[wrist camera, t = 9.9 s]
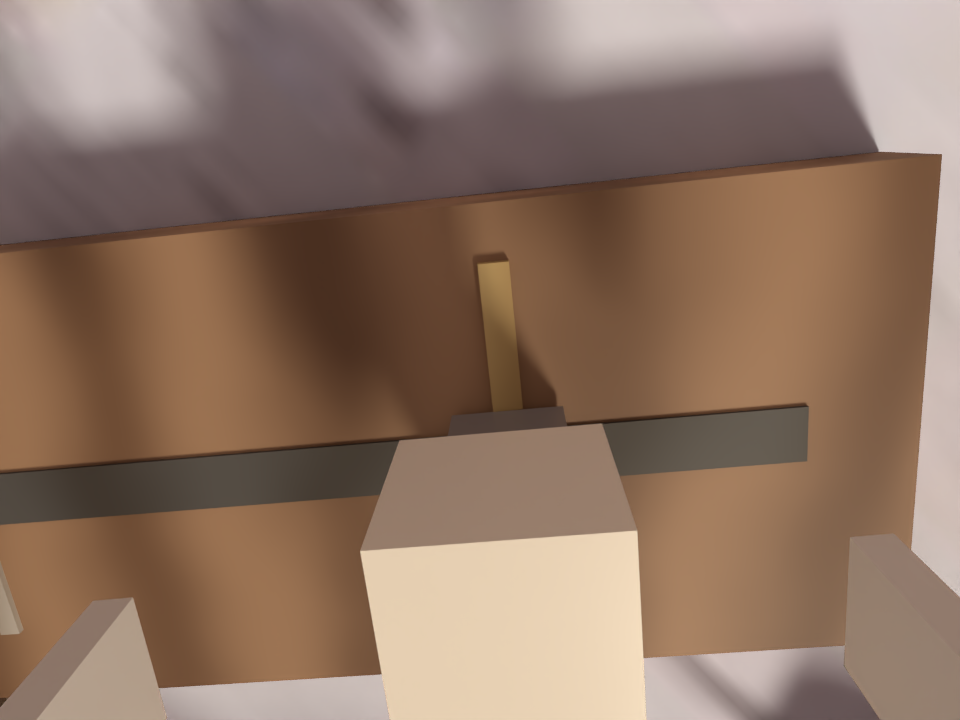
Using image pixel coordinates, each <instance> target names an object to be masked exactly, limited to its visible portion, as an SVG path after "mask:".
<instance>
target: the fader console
mask: <svg viewBox="0 0 960 720" xmlns="http://www.w3.org/2000/svg"><path fill="white" fill-rule="evenodd" d="M941 160H942V154H919V153H895V152H875V153H865V154H856V155H846V156H837V157H828V158H818V159H809V160H799V161H790V162H780V163H771V164H761V165H752V166H742V167H733V168H724V169H714V170H705V171H695V172H686V173H676V174H667V175H657V176H648V177H638V178H629V179H620V180H610V181H601V182H591V183H582V184H572V185H563V186H553V187H544V188H534V189H525V190H516V191H506V192H497V193H487V194H478V195H468V196H459V197H449V198H440V199H430V200H421V201H412V202H402V203H393V204H383V205H374V206H364V207H355V208H345V209H336V210H326V211H317V212H308V213H298V214H289V215H279V216H270V217H260V218H251V219H241V220H232V221H222V222H213V223H204V224H194V225H185V226H175V227H166V228H156V229H147V230H137V231H128V232H118V233H109V234H100V235H90V236H81V237H71V238H62V239H52V240H43V241H33V242H24V243H14V244H5V245H0V698H7V697H10V696H11V695H12V693H13V692H14V691H15V690H16V689H17V688H18V687H19V685H20V684H21V683H22V682H23V681H24V680H25V679H26V677H27V676H28V675H29V674H30V673H31V672H32V670H33V669H34V668H35V667H36V666H37V665H38V664H39V662H40V661H41V660H42V659H43V658H44V657H45V656H46V654H47V653H48V652H49V651H50V650H51V649H52V647H53V646H54V645H55V644H56V643H57V642H58V641H59V639H60V638H61V637H62V636H63V635H64V634H65V633H66V631H67V630H68V629H69V628H70V627H71V626H72V624H73V623H74V622H75V621H76V620H77V619H78V618H79V616H80V615H81V614H82V613H83V612H84V611H85V610H86V608H87V607H88V606H89V605H90V604H91V603H92V601H96V600H108V599H120V598H132V597H133V599H134V603H135V606H136V610H137V613H138V617H139V620H140V624H141V627H142V631H143V635H144V638H145V642H146V645H147V649H148V652H149V656H150V659H151V663H152V666H153V670H154V673H155V677H156V681H157V684H158V688H168V687H184V686H200V685H216V684H232V683H248V682H264V681H280V680H297V679H313V678H329V677H345V676H361V675H377V674H382V673H381V667H380V662H379V656H378V650H377V644H376V639H375V633H374V627H373V622H372V616H371V610H370V605H369V599H368V593H367V588H366V582H365V576H364V571H363V565H362V559H361V553H360V550H361V547H362V544H363V541H364V539H365V536H366V533H367V530H368V527H369V525H370V522H371V519H372V516H373V513H374V511H375V508H376V505H377V502H378V499H379V496H380V494H381V491H382V488H383V485H384V482H385V480H386V477H387V474H388V471H389V468H390V466H391V463H392V460H393V457H394V454H395V452H396V449H397V446H398V443H399V440H411V439H423V438H435V437H447V436H448V432H449V427H450V422H451V417H452V415H463V414H475V413H487V412H498V411H510V410H522V409H533V408H545V407H557V406H563V409H564V413H565V418H566V423H567V426H578V425H590V424H602V425H603V428H604V431H605V434H606V437H607V440H608V443H609V446H610V449H611V452H612V455H613V458H614V461H615V464H616V467H617V470H618V473H619V477H620V480H621V483H622V486H623V489H624V492H625V495H626V498H627V501H628V504H629V507H630V510H631V513H632V516H633V519H634V522H635V525H636V528H637V534H638V555H639V576H640V597H641V618H642V639H643V658H650V657H666V656H682V655H698V654H714V653H730V652H746V651H762V650H778V649H794V648H810V647H826V646H843V645H845V633H846V612H847V590H848V569H849V548H850V537H859V536H871V535H883V534H895V535H896V536H897V537H898V538H899V539H900V540H901V541H902V542H903V543H904V544H905V545H906V546H907V547H908V548H909V549H910V550H911V543H912V530H913V517H914V505H915V492H916V479H917V466H918V454H919V441H920V428H921V415H922V402H923V390H924V377H925V364H926V351H927V339H928V326H929V313H930V300H931V287H932V275H933V262H934V249H935V236H936V223H937V211H938V198H939V185H940V172H941Z"/></svg>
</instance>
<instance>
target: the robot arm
mask: <svg viewBox="0 0 960 720" xmlns="http://www.w3.org/2000/svg"><path fill="white" fill-rule="evenodd" d="M844 667H845V668H846V670H847V671H848V673H849V674H850V676H851V677H852V679H853V680H854V682H855V683H856V685H857V686H858V688H859V689H860V691H861V692H862V693H863V695H864V696H865V698H866V699H867V701H868V702H869V704H870V705H871V707H872V708H873V710H874V711H875V713H876V714H877V716H878V717H879V719H880V720H960V597H959V596H958V595H957V594H956V593H955V592H954V591H953V590H951V589H950V588H949V587H948V586H947V585H946V584H945V583H944V582H943V581H942V580H941V579H940V578H939V577H938V576H937V575H936V574H935V573H934V572H933V571H932V570H931V569H930V568H929V567H928V566H927V565H926V564H925V563H924V562H923V561H922V560H921V559H920V558H919V557H918V556H916V555H915V554H914V553H913V552H912V551H911V550H910V549H909V548H908V547H907V546H906V545H905V544H904V543H903V542H902V541H901V540H900V539H899V538H898V537H897V536H896V535H895V534H883V535H871V536H859V537H850V548H849V569H848V590H847V612H846V633H845V654H844ZM166 718H167V716H166V712H165V709H164V705H163V702H162V698H161V695H160V691H159V688H158V684H157V681H156V677H155V673H154V670H153V666H152V663H151V659H150V656H149V652H148V649H147V645H146V642H145V638H144V635H143V631H142V627H141V624H140V620H139V617H138V613H137V610H136V606H135V603H134V599H133V597H132V598H120V599H108V600H96V601H92V603H91V604H90V605H89V606H88V607H87V608H86V610H85V611H84V612H83V613H82V614H81V615H80V616H79V618H78V619H77V620H76V621H75V622H74V623H73V624H72V626H71V627H70V628H69V629H68V630H67V631H66V633H65V634H64V635H63V636H62V637H61V638H60V639H59V641H58V642H57V643H56V644H55V645H54V646H53V647H52V649H51V650H50V651H49V652H48V653H47V654H46V656H45V657H44V658H43V659H42V660H41V661H40V662H39V664H38V665H37V666H36V667H35V668H34V669H33V670H32V672H31V673H30V674H29V675H28V676H27V677H26V679H25V680H24V681H23V682H22V683H21V684H20V685H19V687H18V688H17V689H16V690H15V691H14V692H13V693H12V695H11V696H10V697H9V698H8V699H7V700H6V702H5V703H4V704H3V705H2V706H1V707H0V720H166Z"/></svg>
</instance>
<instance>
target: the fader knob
mask: <svg viewBox="0 0 960 720" xmlns="http://www.w3.org/2000/svg"><path fill="white" fill-rule="evenodd" d="M360 553H361V559H362V565H363V571H364V576H365V582H366V588H367V593H368V599H369V605H370V610H371V616H372V622H373V627H374V633H375V639H376V644H377V650H378V656H379V662H380V667H381V673H382V679H383V684H384V690H385V696H386V701H387V707H388V713H389V718H390V720H646V702H645V681H644V660H643V639H642V618H641V597H640V576H639V555H638V534H637V528H636V525H635V522H634V519H633V516H632V513H631V510H630V507H629V504H628V501H627V498H626V495H625V492H624V489H623V486H622V483H621V480H620V477H619V473H618V470H617V467H616V464H615V461H614V458H613V455H612V452H611V449H610V446H609V443H608V440H607V437H606V434H605V431H604V428H603V425H602V424H590V425H578V426H567V423H566V418H565V413H564V409H563V406H557V407H545V408H533V409H522V410H510V411H498V412H487V413H475V414H463V415H452V417H451V422H450V427H449V432H448V436H447V437H435V438H423V439H411V440H399V443H398V446H397V449H396V452H395V454H394V457H393V460H392V463H391V466H390V468H389V471H388V474H387V477H386V480H385V482H384V485H383V488H382V491H381V494H380V496H379V499H378V502H377V505H376V508H375V511H374V513H373V516H372V519H371V522H370V525H369V527H368V530H367V533H366V536H365V539H364V541H363V544H362V547H361V550H360Z"/></svg>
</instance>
